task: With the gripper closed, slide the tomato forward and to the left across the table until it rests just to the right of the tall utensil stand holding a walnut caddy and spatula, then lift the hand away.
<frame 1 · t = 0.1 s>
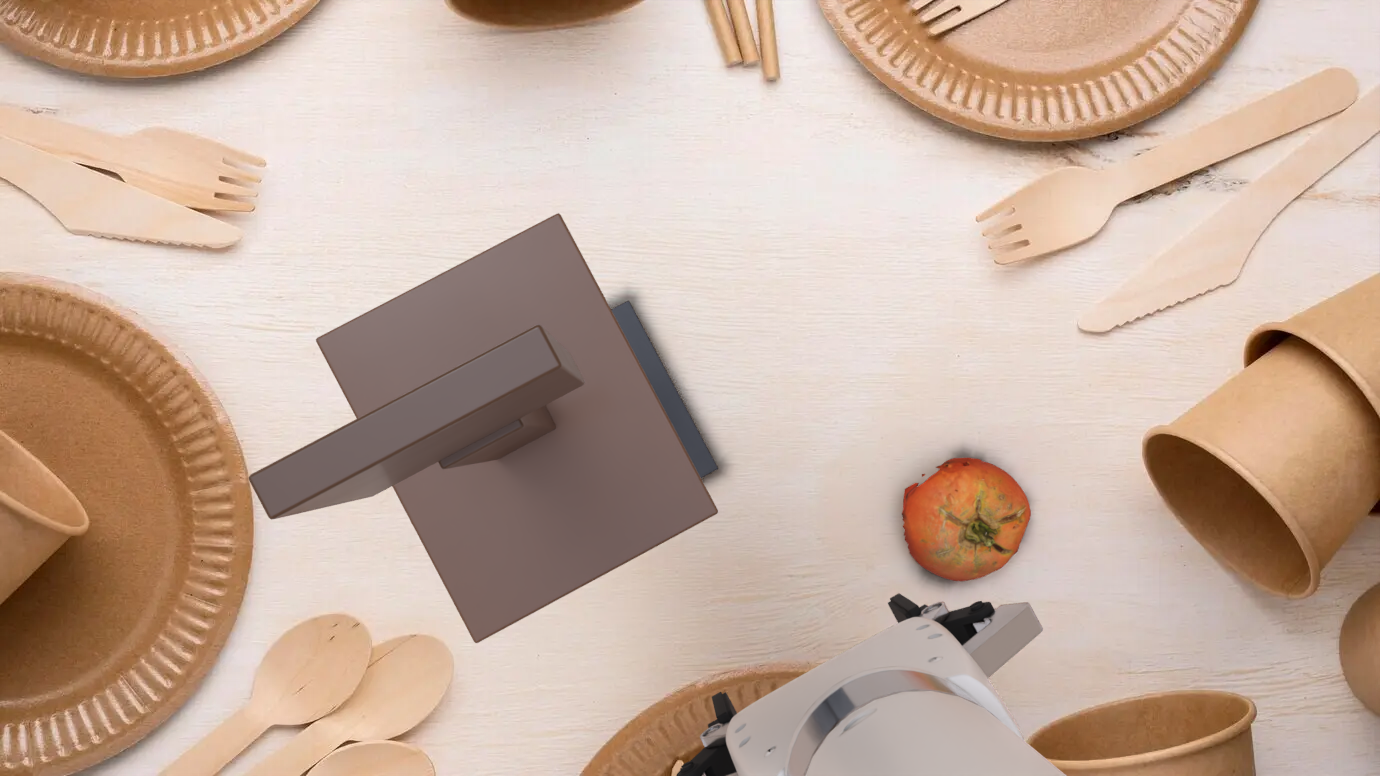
hand: (820, 672, 51), 16 cm above the table, tool pointing down, fingers open, 9 cm apart
tomato: (956, 517, 67), on the table
utensil stand: (589, 429, 67), on the table
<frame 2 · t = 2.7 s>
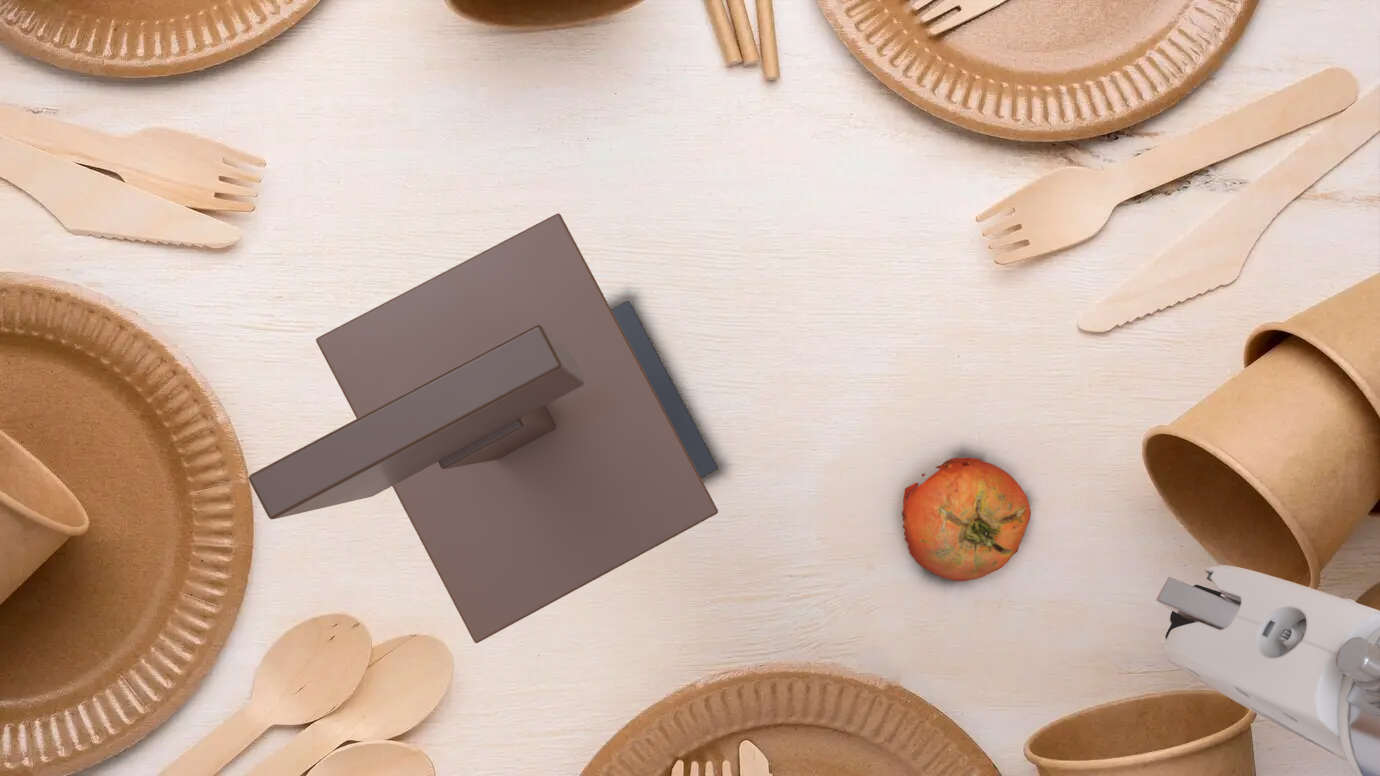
hand: (1192, 618, 53), 14 cm above the table, tool pointing down, fingers closed
nothing on the table moved.
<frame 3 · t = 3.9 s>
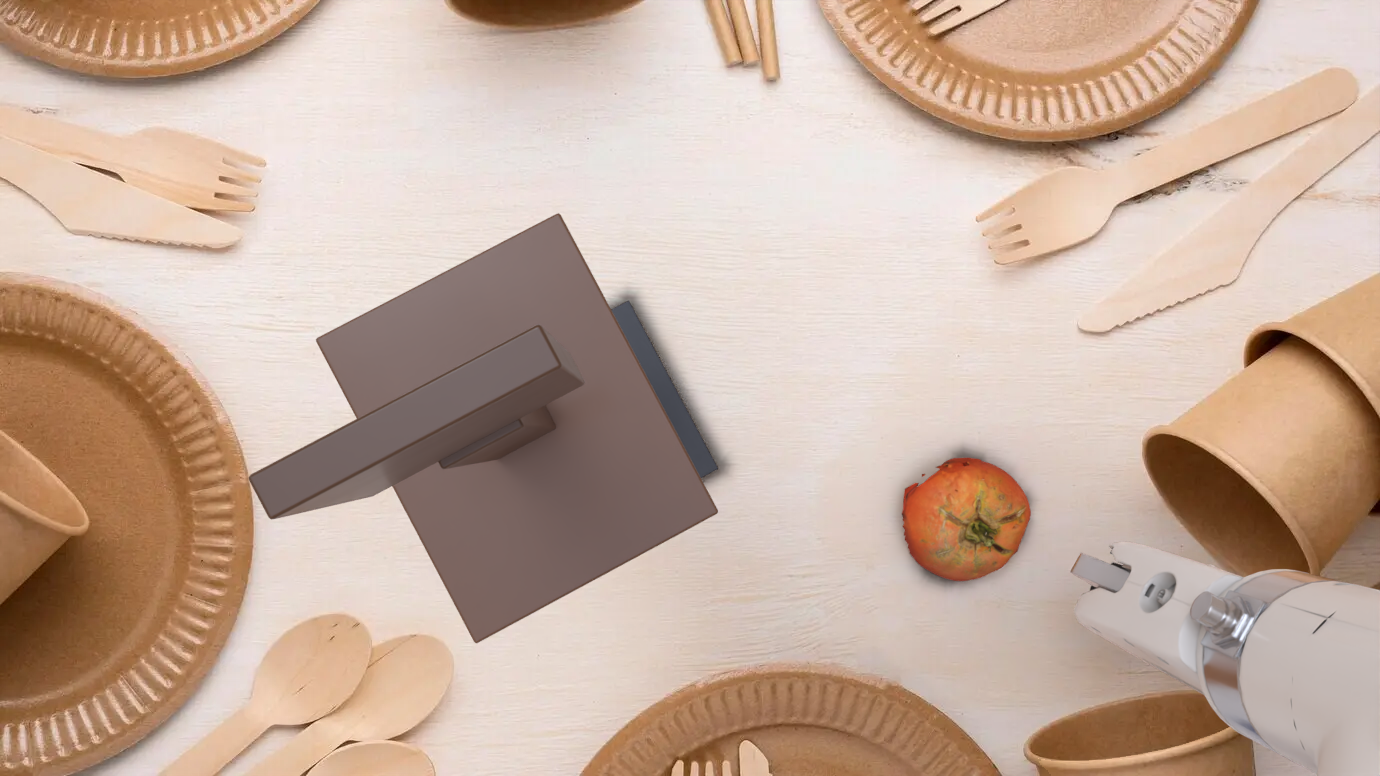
hand: (1109, 591, 62), 5 cm above the table, tool pointing down, fingers closed
nothing on the table moved.
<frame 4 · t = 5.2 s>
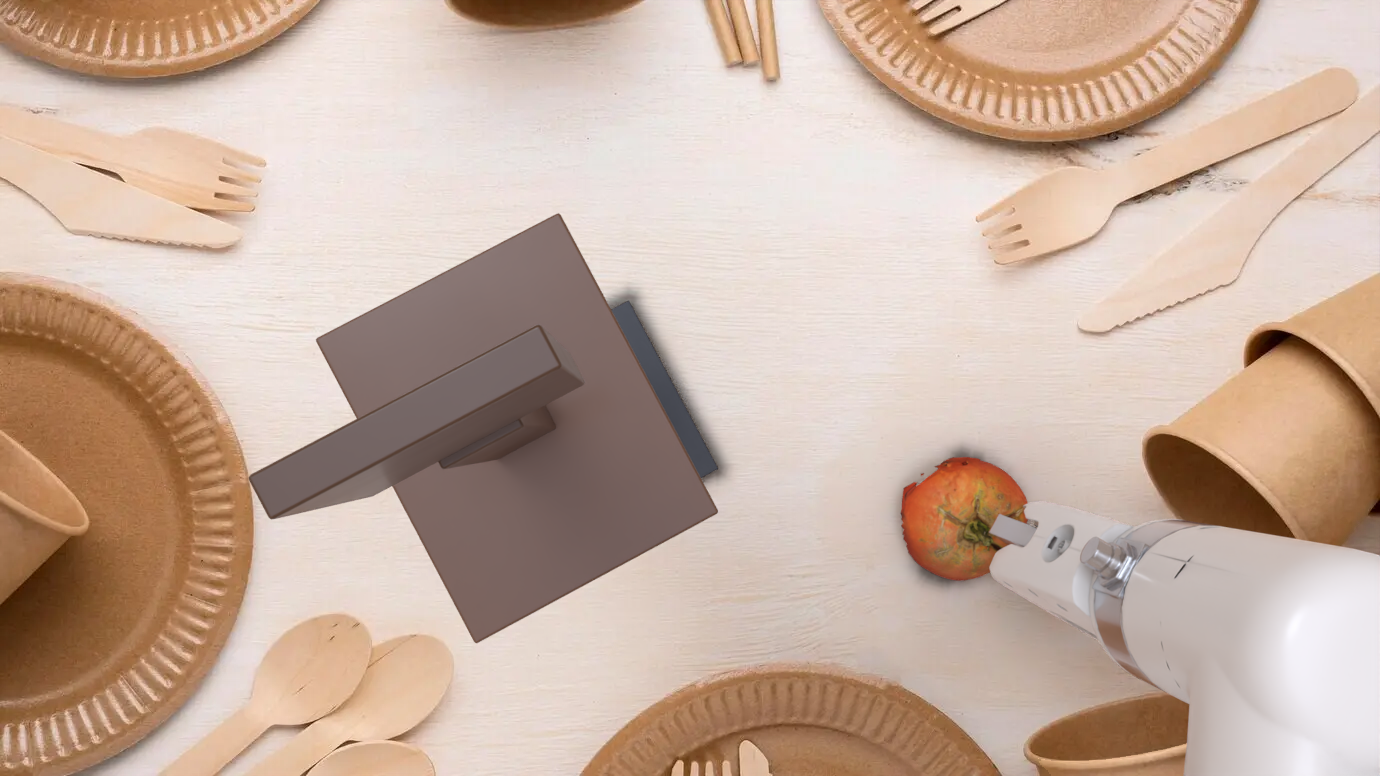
hand: (1034, 557, 65), 3 cm above the table, tool pointing down, fingers closed
tomato: (955, 517, 67), on the table, touching gripper
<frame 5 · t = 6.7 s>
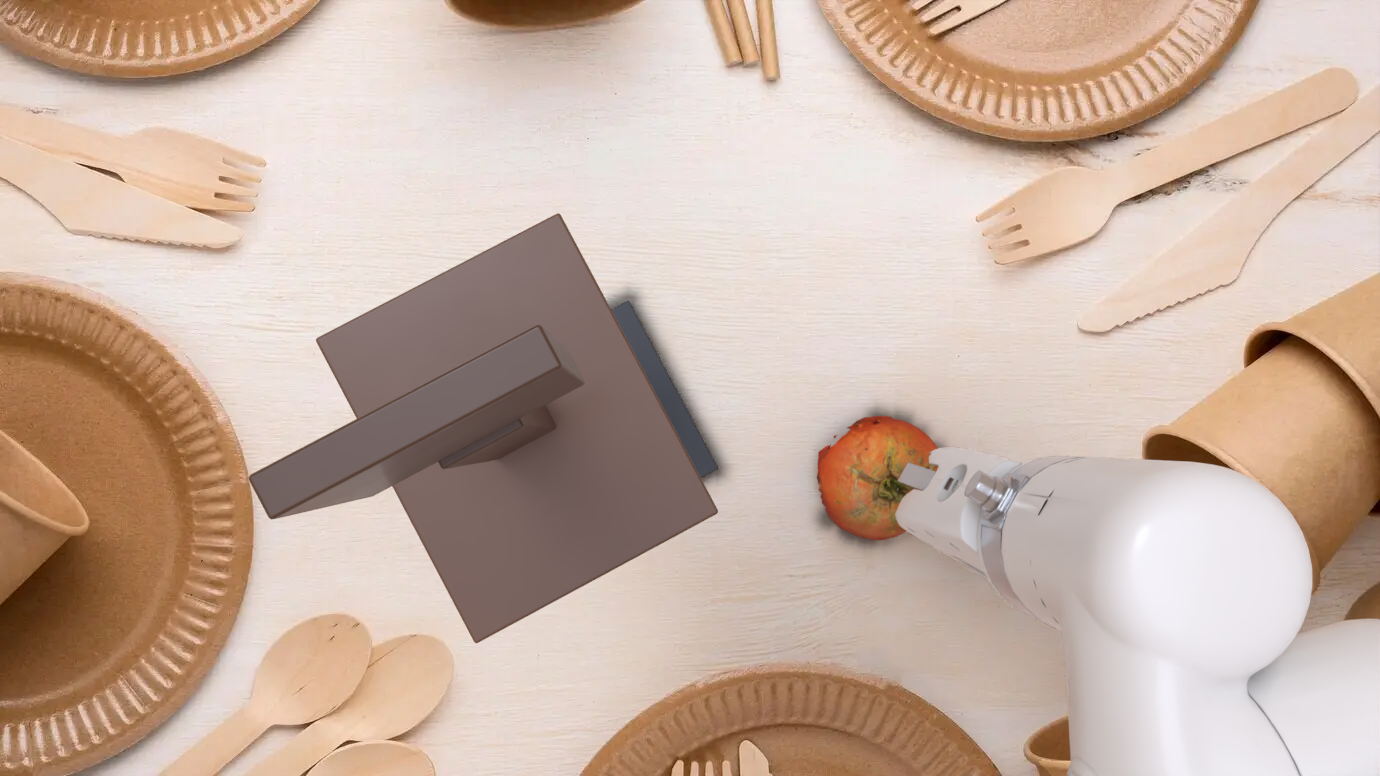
hand: (952, 511, 65), 3 cm above the table, tool pointing down, fingers closed
tomato: (874, 477, 67), on the table, touching gripper
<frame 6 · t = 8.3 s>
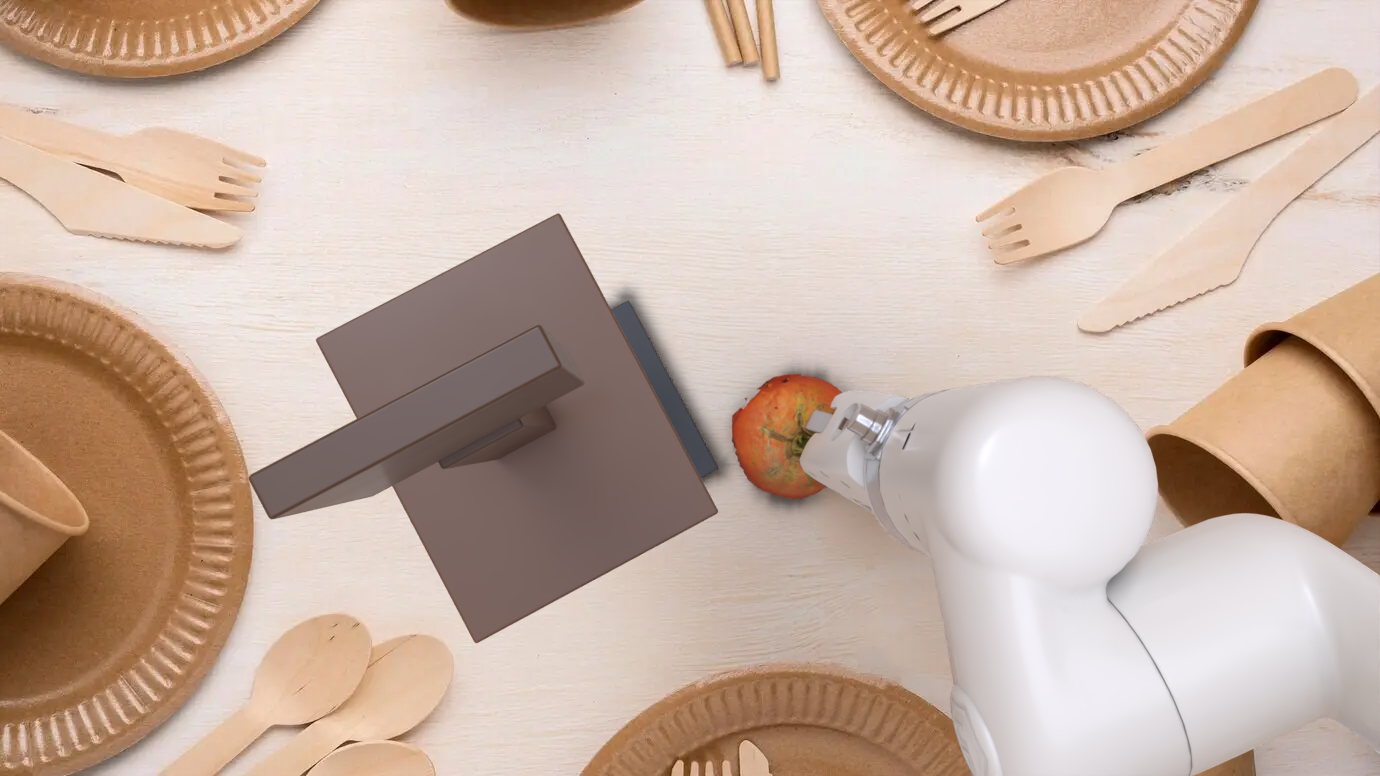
hand: (869, 464, 65), 3 cm above the table, tool pointing down, fingers closed
tomato: (791, 436, 67), on the table, touching gripper
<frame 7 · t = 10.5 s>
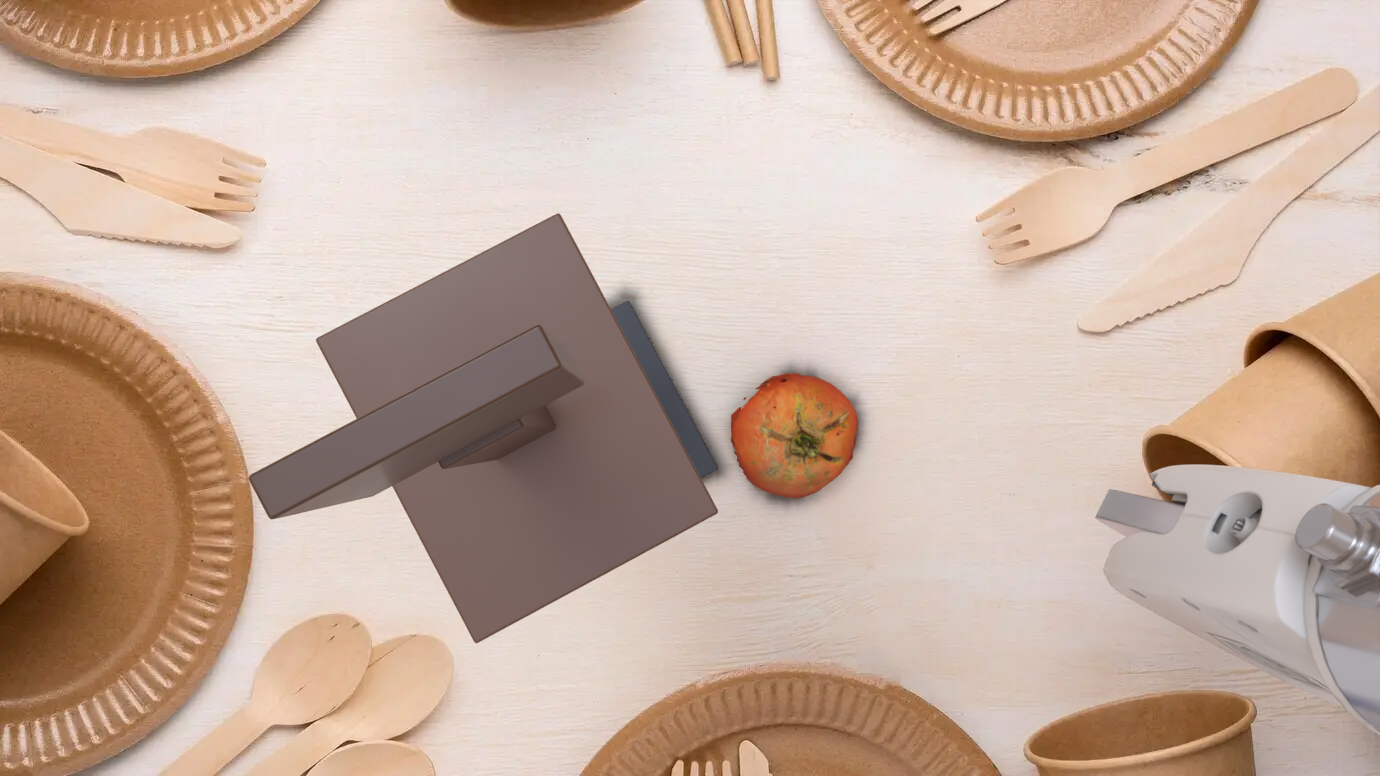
hand: (1149, 555, 45), 22 cm above the table, tool pointing down, fingers closed
tomato: (790, 436, 67), on the table
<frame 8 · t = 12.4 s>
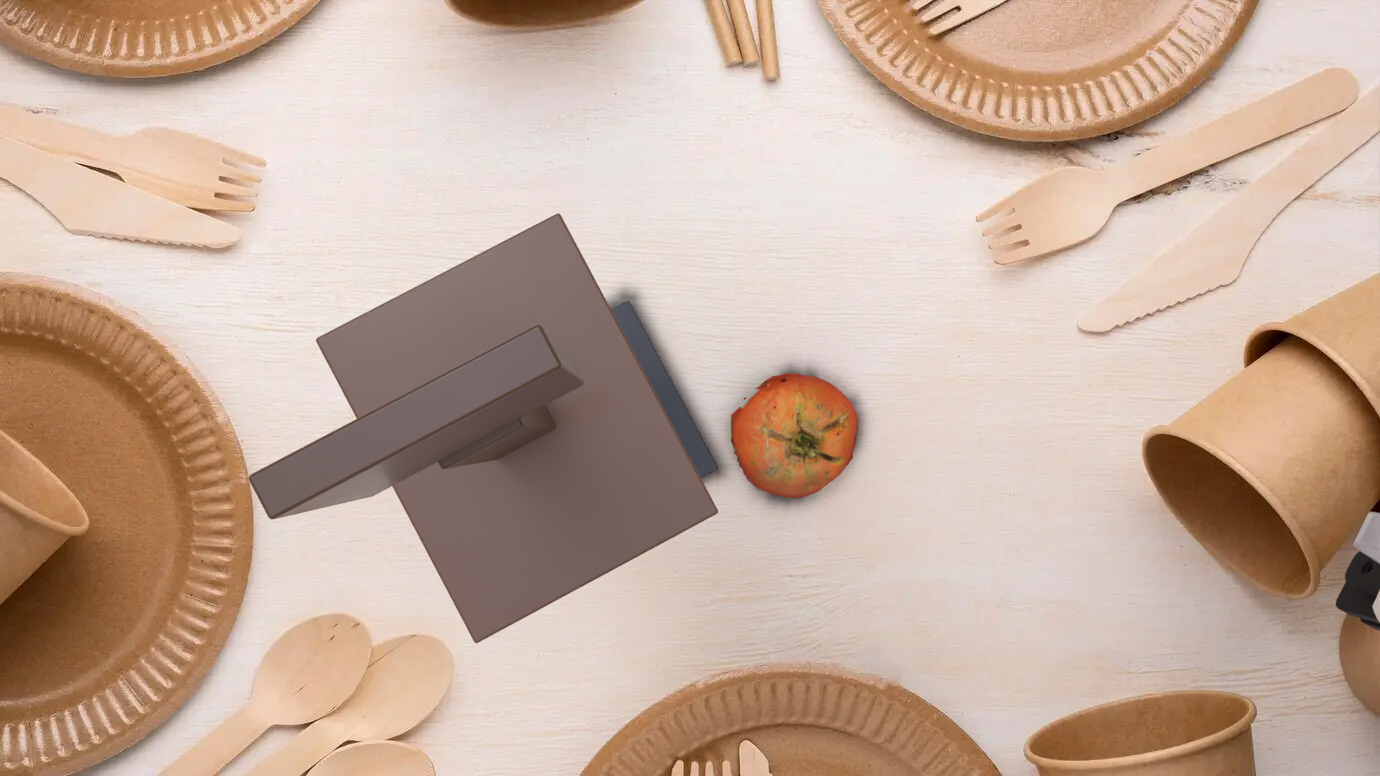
hand: (1369, 580, 40), 27 cm above the table, tool pointing down, fingers closed
nothing on the table moved.
at the end: tomato inside the target area on the table beside the utensil stand (1.0 cm from its centre), on the table; tomato 12.8 cm from the utensil stand (horizontally); tomato moved 11.8 cm from its start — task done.
